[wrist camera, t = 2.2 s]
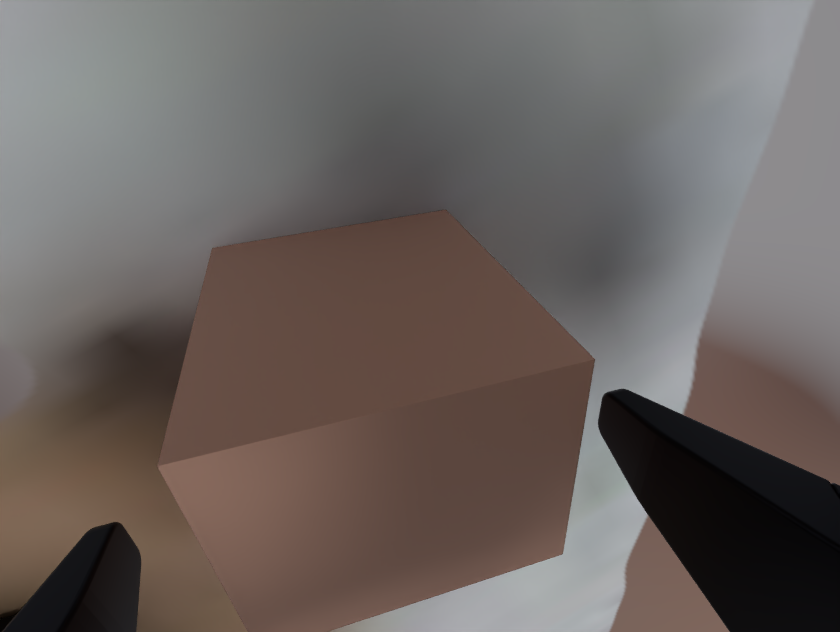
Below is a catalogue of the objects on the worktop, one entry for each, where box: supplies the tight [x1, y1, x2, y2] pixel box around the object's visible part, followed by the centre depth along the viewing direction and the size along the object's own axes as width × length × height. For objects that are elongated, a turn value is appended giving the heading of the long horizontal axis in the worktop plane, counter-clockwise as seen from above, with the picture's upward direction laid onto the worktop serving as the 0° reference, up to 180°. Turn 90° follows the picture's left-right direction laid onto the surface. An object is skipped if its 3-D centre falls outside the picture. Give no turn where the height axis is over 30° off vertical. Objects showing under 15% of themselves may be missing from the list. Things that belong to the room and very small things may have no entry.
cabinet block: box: [157, 210, 595, 632], centre depth 11 cm, size 6×6×7 cm
